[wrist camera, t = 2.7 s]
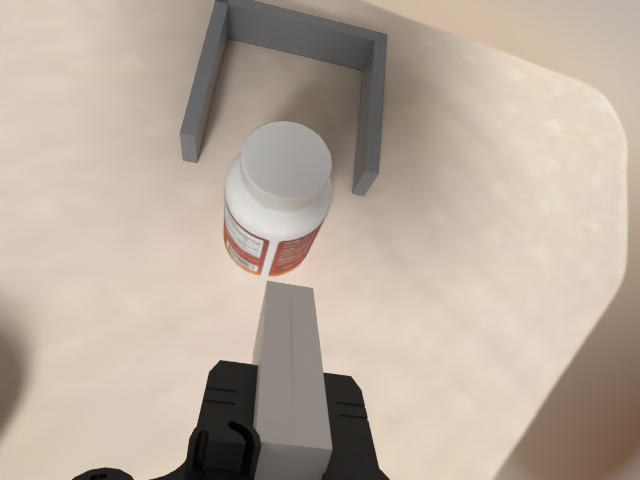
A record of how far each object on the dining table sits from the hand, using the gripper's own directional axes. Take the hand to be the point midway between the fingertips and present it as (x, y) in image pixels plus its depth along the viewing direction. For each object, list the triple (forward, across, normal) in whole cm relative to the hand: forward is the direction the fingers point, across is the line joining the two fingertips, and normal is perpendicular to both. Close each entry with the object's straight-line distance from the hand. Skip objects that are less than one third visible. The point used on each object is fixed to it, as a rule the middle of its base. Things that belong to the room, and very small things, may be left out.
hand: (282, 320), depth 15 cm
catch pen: (+26, 0, +4) cm, 26 cm away
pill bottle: (+18, 0, -5) cm, 19 cm away
